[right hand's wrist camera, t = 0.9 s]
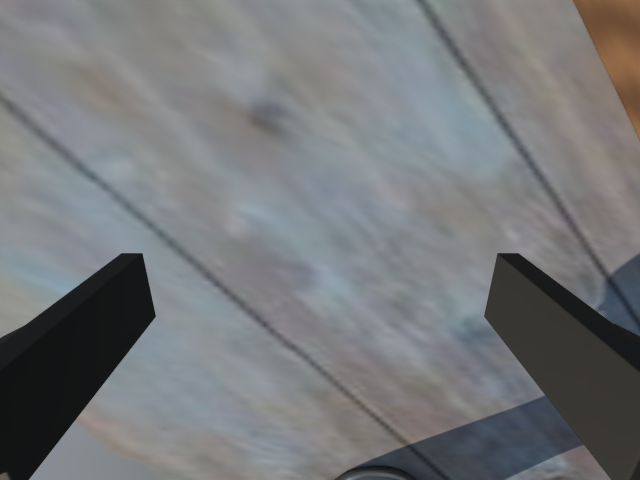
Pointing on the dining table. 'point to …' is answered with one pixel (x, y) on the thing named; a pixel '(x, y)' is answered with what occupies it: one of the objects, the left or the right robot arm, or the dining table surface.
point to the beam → (617, 46)
